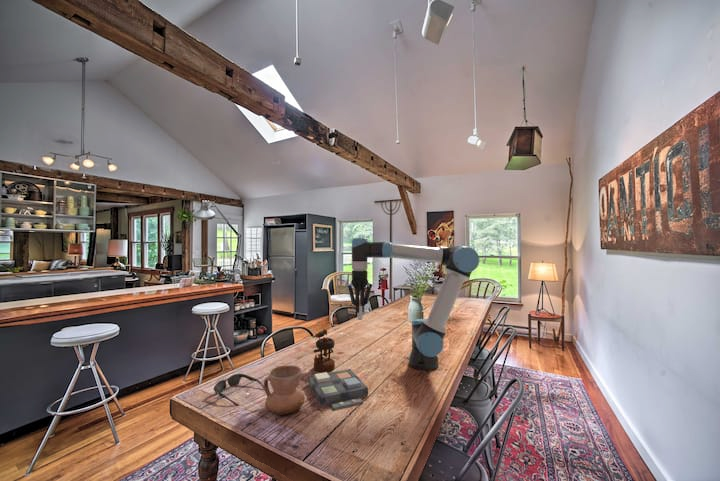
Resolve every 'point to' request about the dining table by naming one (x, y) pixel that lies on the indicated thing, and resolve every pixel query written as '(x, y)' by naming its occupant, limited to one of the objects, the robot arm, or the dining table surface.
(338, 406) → the plaque
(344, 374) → the terracotta key
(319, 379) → the cream key
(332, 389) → the sage key
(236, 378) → the sunglasses
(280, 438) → the dining table surface
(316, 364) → the music box
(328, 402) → the keypad
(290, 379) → the ceramic jug
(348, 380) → the slate key
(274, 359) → the dining table surface
